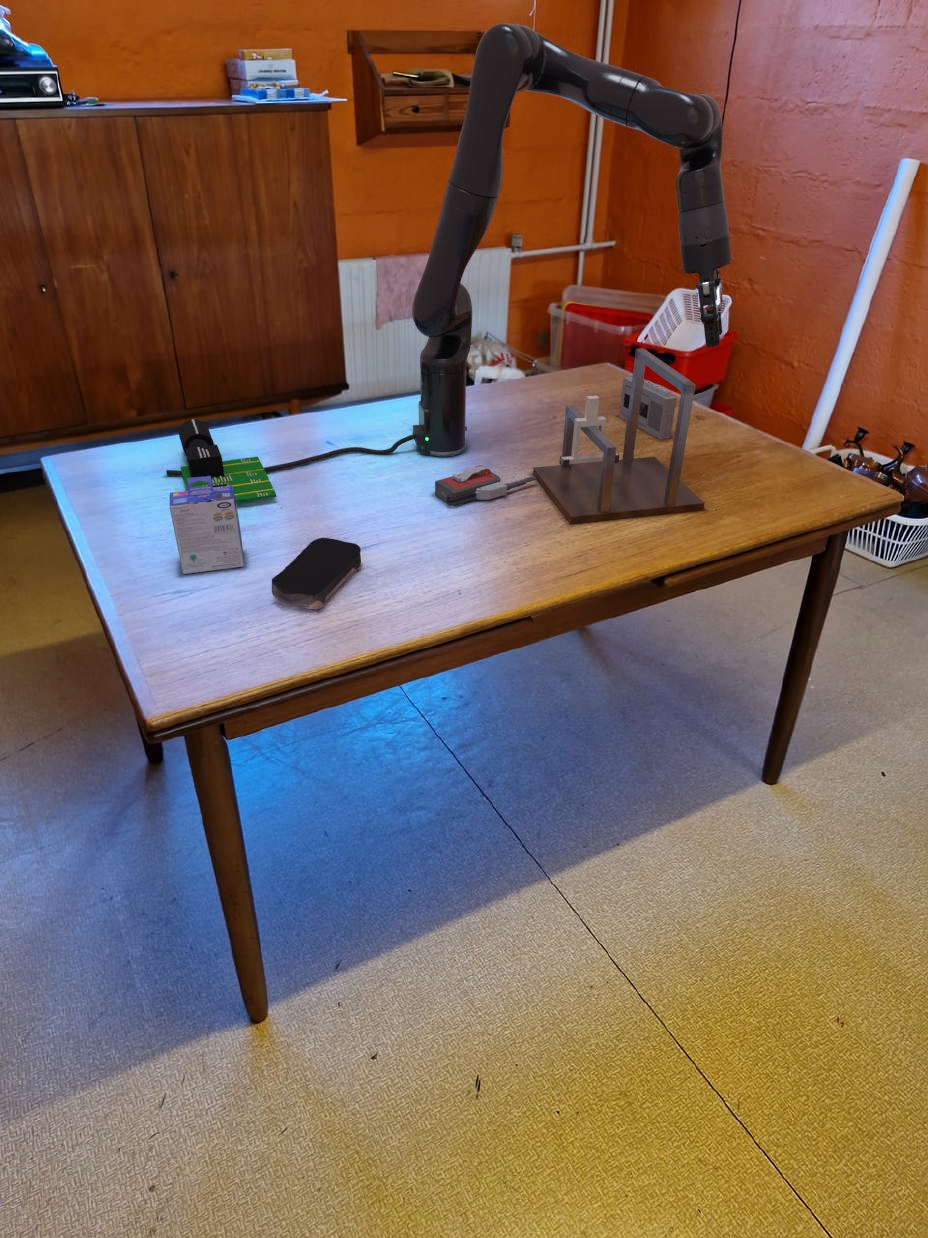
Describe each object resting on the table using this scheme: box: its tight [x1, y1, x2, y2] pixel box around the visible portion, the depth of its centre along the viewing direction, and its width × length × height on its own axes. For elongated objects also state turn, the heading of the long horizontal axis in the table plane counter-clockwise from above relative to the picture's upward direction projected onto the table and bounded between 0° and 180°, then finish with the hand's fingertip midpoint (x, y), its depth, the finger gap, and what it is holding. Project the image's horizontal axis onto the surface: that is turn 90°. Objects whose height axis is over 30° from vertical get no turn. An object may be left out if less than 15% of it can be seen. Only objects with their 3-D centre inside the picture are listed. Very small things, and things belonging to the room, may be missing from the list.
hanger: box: [559, 395, 620, 468], centre depth 154 cm, size 11×2×13 cm, turn 104°
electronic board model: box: [178, 418, 277, 504], centre depth 164 cm, size 30×7×15 cm
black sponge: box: [271, 537, 362, 610], centre depth 132 cm, size 16×8×4 cm, turn 160°
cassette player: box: [618, 375, 678, 441], centre depth 188 cm, size 16×3×10 cm, turn 27°
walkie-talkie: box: [434, 464, 537, 506], centre depth 161 cm, size 9×4×20 cm
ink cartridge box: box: [168, 476, 245, 575], centre depth 134 cm, size 10×6×14 cm, turn 107°
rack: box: [532, 348, 706, 525], centre depth 156 cm, size 26×22×24 cm
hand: (714, 340), depth 142 cm, fingers open, 8 cm apart
